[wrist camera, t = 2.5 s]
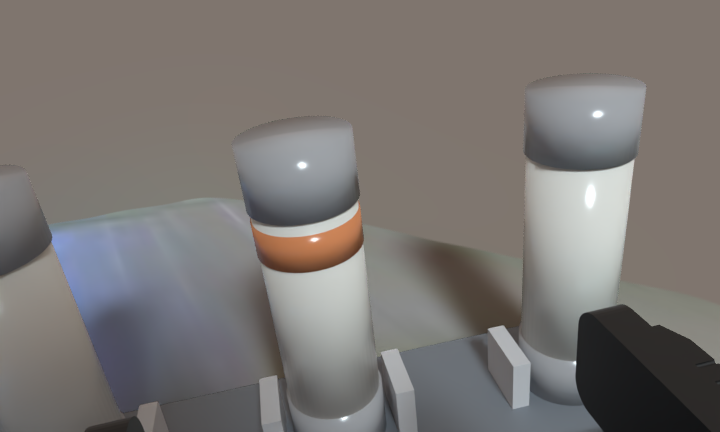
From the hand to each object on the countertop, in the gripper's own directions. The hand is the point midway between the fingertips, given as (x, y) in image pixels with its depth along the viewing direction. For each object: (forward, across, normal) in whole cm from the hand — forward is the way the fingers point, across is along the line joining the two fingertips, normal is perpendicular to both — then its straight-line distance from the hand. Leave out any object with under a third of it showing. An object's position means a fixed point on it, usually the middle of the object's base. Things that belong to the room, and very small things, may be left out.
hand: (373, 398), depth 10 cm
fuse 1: (+12, +11, +12) cm, 20 cm away
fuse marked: (+12, 0, +12) cm, 17 cm away
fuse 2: (+12, -11, +12) cm, 20 cm away
